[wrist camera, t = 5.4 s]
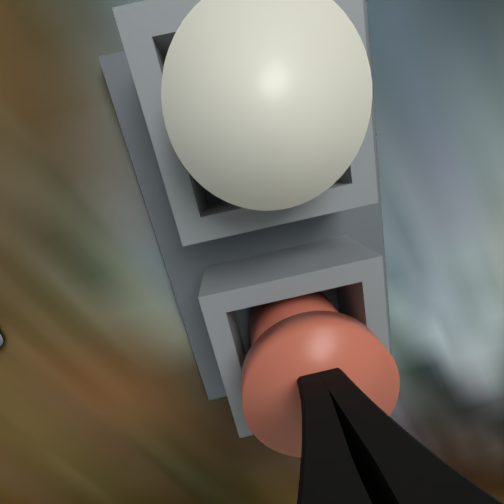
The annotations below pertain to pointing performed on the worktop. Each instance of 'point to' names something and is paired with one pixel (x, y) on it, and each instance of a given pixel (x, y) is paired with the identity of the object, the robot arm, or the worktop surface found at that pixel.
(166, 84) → the cream plug
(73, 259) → the worktop surface
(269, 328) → the red plug
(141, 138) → the socket board
